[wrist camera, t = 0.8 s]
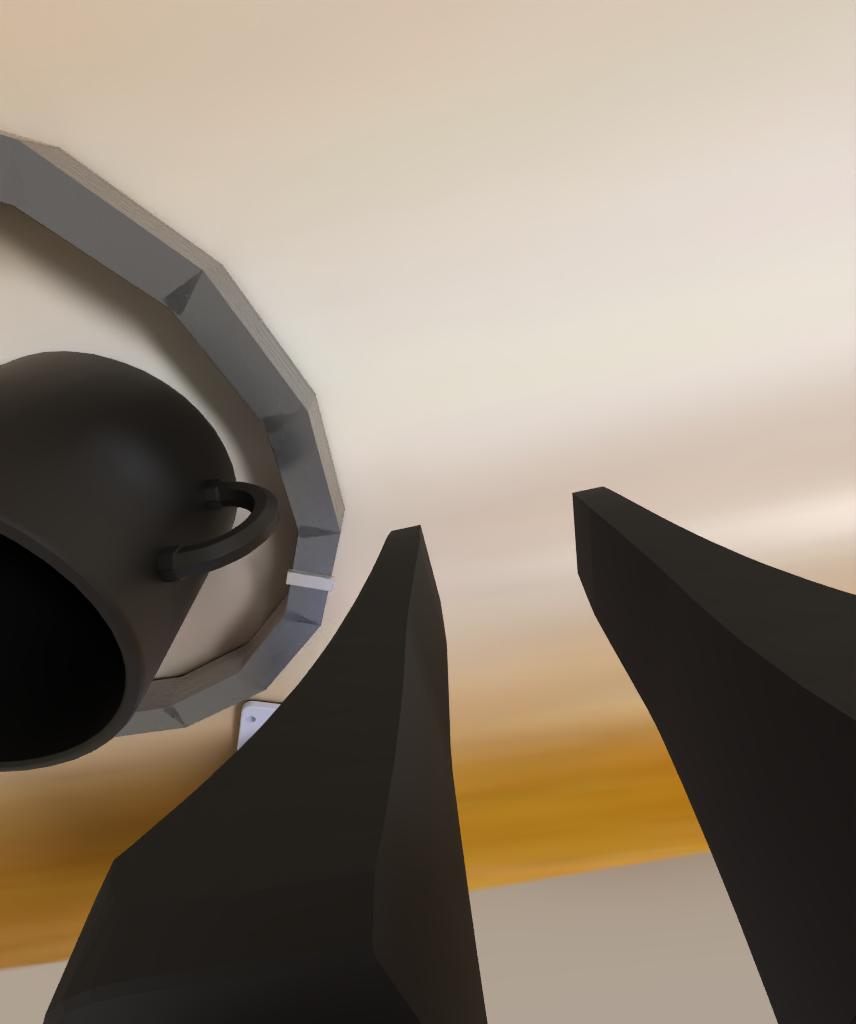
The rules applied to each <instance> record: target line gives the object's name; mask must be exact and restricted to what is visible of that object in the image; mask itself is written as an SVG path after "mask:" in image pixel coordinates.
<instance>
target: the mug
mask: <svg viewBox="0 0 856 1024" xmlns="http://www.w3.org/2000/svg"><path fill="white" fill-rule="evenodd" d="M237 507H241V508H245V509H247V510H249V511H250V512H251V514H250V515H249V517H248V518H247V519H246V520H245V521H244V522H242V523H241V524H240V525H238V526H237V527H236V528H234V529H232V526H233V523H234V520H235V516H236V511H237ZM278 518H279V512H278V501H277V499H276V497H275V496H274V495H273V494H272V493H271V492H270V491H269V490H267V489H265V488H262V487H259V486H257V485H254V484H250V483H245V482H236V478H235V474H234V470H233V466H232V463H231V460H230V458H229V456H228V453H227V451H226V449H225V447H224V445H223V443H222V441H221V439H220V438H219V436H218V435H217V433H216V431H215V430H214V428H213V427H212V426H211V424H210V423H209V422H208V421H207V420H206V418H205V417H204V416H203V415H202V414H201V413H200V411H199V410H198V409H197V408H196V407H194V406H193V405H192V404H191V403H190V402H189V401H188V400H187V399H186V398H185V397H184V396H182V395H181V394H180V393H178V392H177V391H176V390H174V389H173V388H172V387H170V386H169V385H167V384H166V383H164V382H163V381H161V380H159V379H157V378H156V377H154V376H152V375H150V374H148V373H147V372H145V371H143V370H140V369H138V368H135V367H133V366H130V365H128V364H125V363H122V362H119V361H116V360H113V359H110V358H106V357H102V356H98V355H94V354H87V353H79V352H66V351H62V352H43V353H38V354H33V355H28V356H25V357H21V358H19V359H16V360H13V361H11V362H8V363H5V364H3V365H0V772H6V771H22V770H31V769H37V768H43V767H48V766H53V765H57V764H61V763H64V762H67V761H71V760H74V759H77V758H79V757H81V756H83V755H86V754H88V753H90V752H92V751H94V750H96V749H98V748H99V747H101V746H102V745H104V744H105V743H107V742H108V741H110V740H111V739H112V738H114V737H115V736H116V735H117V734H118V733H119V732H120V731H121V730H122V729H123V728H124V727H125V726H126V725H127V723H128V722H129V721H130V720H131V718H132V717H133V715H134V713H135V712H136V710H137V708H138V707H139V705H140V703H141V702H142V700H143V698H144V696H145V694H146V692H147V690H148V688H149V686H150V684H151V682H152V680H153V679H154V677H155V675H156V673H157V671H158V669H159V667H160V665H161V663H162V661H163V659H164V657H165V656H166V654H167V652H168V650H169V648H170V646H171V644H172V642H173V640H174V638H175V636H176V634H177V633H178V631H179V629H180V627H181V625H182V623H183V621H184V619H185V617H186V615H187V613H188V611H189V610H190V608H191V606H192V604H193V602H194V600H195V598H196V596H197V594H198V592H199V590H200V588H201V587H202V585H203V583H204V581H205V579H206V577H207V575H208V573H209V571H213V570H216V569H218V568H221V567H223V566H225V565H228V564H230V563H232V562H234V561H236V560H238V559H240V558H242V557H244V556H246V555H247V554H249V553H250V552H252V551H253V550H254V549H256V548H257V547H258V546H260V545H261V544H262V543H263V542H264V541H265V540H266V539H267V538H268V537H269V536H270V535H271V533H272V532H273V530H274V529H275V527H276V526H277V523H278ZM231 529H232V530H231Z"/></svg>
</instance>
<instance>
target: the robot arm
mask: <svg viewBox="0 0 856 1024" xmlns="http://www.w3.org/2000/svg"><path fill="white" fill-rule="evenodd" d="M572 494H573V509H574V524H575V539H576V554H577V569H578V575H579V577H580V580H581V582H582V585H583V587H584V590H585V593H586V595H587V598H588V600H589V602H590V605H591V607H592V610H593V612H594V614H595V616H596V618H597V620H598V622H599V624H600V625H601V627H602V629H603V631H604V633H605V634H606V636H607V638H608V640H609V642H610V643H611V645H612V647H613V649H614V650H615V652H616V654H617V656H618V658H619V659H620V661H621V663H622V665H623V666H624V668H625V670H626V672H627V673H628V675H629V677H630V679H631V680H632V682H633V684H634V686H635V688H636V689H637V691H638V693H639V695H640V696H641V698H642V700H643V702H644V703H645V705H646V707H647V709H648V711H649V713H650V715H651V717H652V718H653V720H654V722H655V724H656V726H657V728H658V730H659V732H660V734H661V737H662V739H663V741H664V743H665V746H666V748H667V750H668V752H669V755H670V757H671V759H672V761H673V764H674V766H675V768H676V770H677V773H678V775H679V777H680V780H681V782H682V784H683V786H684V789H685V791H686V793H687V796H688V798H689V800H690V803H691V805H692V808H693V810H694V812H695V815H696V817H697V819H698V822H699V824H700V826H701V829H702V831H703V834H704V836H705V838H706V841H707V843H708V845H709V848H710V850H711V853H712V855H713V858H714V860H715V863H716V865H717V867H718V870H719V873H720V875H721V878H722V880H723V882H724V885H725V887H726V890H727V892H728V895H729V897H730V900H731V902H732V905H733V907H734V910H735V912H736V914H737V917H738V919H739V922H740V925H741V927H742V930H743V933H744V935H745V938H746V940H747V943H748V946H749V948H750V951H751V953H752V956H753V959H754V961H755V964H756V966H757V969H758V972H759V974H760V977H761V980H762V982H763V985H764V987H765V990H766V992H767V995H768V997H769V1000H770V1003H771V1006H772V1008H773V1011H774V1014H775V1016H776V1019H777V1022H778V1024H856V595H854V594H850V593H847V592H844V591H840V590H837V589H834V588H831V587H828V586H825V585H822V584H819V583H816V582H813V581H810V580H807V579H804V578H801V577H799V576H796V575H793V574H790V573H787V572H785V571H782V570H779V569H776V568H774V567H771V566H768V565H765V564H763V563H760V562H758V561H755V560H753V559H750V558H748V557H745V556H743V555H741V554H738V553H736V552H734V551H732V550H729V549H727V548H725V547H723V546H720V545H718V544H716V543H713V542H711V541H709V540H707V539H705V538H703V537H700V536H698V535H696V534H694V533H692V532H690V531H688V530H686V529H684V528H682V527H680V526H678V525H676V524H674V523H672V522H670V521H668V520H666V519H664V518H662V517H660V516H658V515H656V514H655V513H653V512H651V511H649V510H647V509H645V508H643V507H642V506H640V505H638V504H636V503H634V502H632V501H630V500H629V499H627V498H625V497H623V496H621V495H619V494H617V493H615V492H613V491H611V490H609V489H607V488H605V487H598V488H594V489H589V490H584V491H579V492H575V493H572ZM43 1024H487V1017H486V1011H485V1004H484V997H483V991H482V984H481V977H480V970H479V963H478V956H477V950H476V942H475V935H474V929H473V921H472V914H471V907H470V900H469V893H468V886H467V878H466V871H465V863H464V856H463V848H462V841H461V834H460V826H459V818H458V811H457V803H456V795H455V787H454V779H453V771H452V759H451V746H450V718H449V690H448V663H447V642H446V635H445V628H444V622H443V615H442V609H441V602H440V598H439V594H438V590H437V586H436V582H435V579H434V575H433V571H432V567H431V563H430V560H429V556H428V552H427V548H426V544H425V541H424V537H423V533H422V529H421V525H418V526H413V527H408V528H404V529H399V530H394V531H391V532H390V534H389V535H388V537H387V539H386V541H385V543H384V546H383V548H382V550H381V552H380V554H379V556H378V559H377V561H376V563H375V565H374V567H373V569H372V571H371V573H370V575H369V577H368V579H367V580H366V582H365V584H364V586H363V588H362V590H361V592H360V594H359V595H358V597H357V599H356V601H355V603H354V604H353V606H352V608H351V609H350V611H349V612H348V614H347V616H346V617H345V619H344V621H343V622H342V624H341V625H340V627H339V629H338V630H337V632H336V633H335V635H334V636H333V638H332V639H331V641H330V642H329V644H328V645H327V647H326V648H325V650H324V651H323V652H322V654H321V655H320V657H319V658H318V659H317V661H316V662H315V663H314V665H313V666H312V667H311V669H310V670H309V671H308V673H307V674H306V675H305V677H304V678H303V679H302V680H301V682H300V683H299V684H298V685H297V686H296V688H295V689H294V690H293V691H292V692H291V693H290V694H289V696H288V697H287V698H286V699H285V700H284V701H283V702H282V703H281V704H275V703H267V702H259V701H248V702H246V703H245V704H244V705H243V708H242V711H241V720H240V728H239V737H238V745H237V752H236V753H235V754H234V755H233V756H232V757H230V758H229V759H228V760H227V761H226V762H225V763H224V764H223V765H222V766H221V767H220V768H219V769H218V770H217V771H216V772H215V773H214V774H213V775H212V776H211V777H210V778H209V779H207V780H206V781H205V782H204V783H203V784H202V785H201V786H200V787H199V788H198V789H197V790H195V791H194V792H193V793H192V794H191V795H190V796H189V797H188V798H187V799H185V800H184V801H183V802H182V803H181V804H180V805H178V806H177V807H176V808H175V809H174V810H173V811H171V812H170V813H169V814H168V815H167V816H166V817H164V818H163V819H162V820H161V821H160V822H159V823H157V824H156V825H155V826H154V827H153V828H152V829H150V830H149V831H148V832H147V833H146V834H145V835H143V836H142V837H141V838H140V839H139V840H138V841H136V842H135V843H134V844H133V845H132V846H131V847H129V848H128V849H127V850H126V851H124V852H123V853H122V854H121V855H120V856H118V857H117V858H116V859H115V860H114V861H113V863H112V865H111V868H110V870H109V872H108V874H107V876H106V878H105V880H104V882H103V884H102V887H101V889H100V891H99V893H98V895H97V897H96V899H95V902H94V904H93V906H92V908H91V911H90V913H89V915H88V918H87V920H86V922H85V925H84V927H83V929H82V931H81V934H80V936H79V938H78V941H77V943H76V945H75V948H74V950H73V952H72V955H71V957H70V959H69V961H68V964H67V966H66V968H65V971H64V973H63V975H62V978H61V980H60V983H59V984H58V987H57V989H56V991H55V994H54V996H53V999H52V1001H51V1003H50V1005H49V1008H48V1010H47V1012H46V1015H45V1019H44V1022H43Z"/></svg>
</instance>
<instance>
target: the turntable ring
mask: <svg viewBox="0 0 856 1024" xmlns="http://www.w3.org/2000/svg"><path fill="white" fill-rule="evenodd" d="M0 202H3V203H7V204H10V205H13V206H15V207H16V208H18V209H19V210H21V211H22V212H24V213H25V214H27V215H29V216H30V217H32V218H33V219H35V220H36V221H38V222H39V223H41V224H42V225H44V226H45V227H47V228H48V229H50V230H51V231H53V232H54V233H56V234H57V235H59V236H60V237H62V238H63V239H65V240H66V241H68V242H69V243H71V244H72V245H74V246H75V247H77V248H79V249H80V250H82V251H83V252H85V253H86V254H88V255H89V256H91V257H92V258H94V259H95V260H97V261H98V262H100V263H101V264H103V265H104V266H106V267H107V268H109V269H110V270H112V271H113V272H115V273H116V274H118V275H119V276H121V277H122V278H124V279H125V280H127V281H129V282H130V283H132V284H133V285H135V286H136V287H138V288H139V289H141V290H142V291H144V292H145V293H147V294H148V295H150V296H151V297H153V298H154V299H156V300H157V301H159V302H160V303H162V304H163V305H165V306H166V307H168V308H169V309H171V311H172V312H173V313H174V314H175V315H176V317H177V318H178V319H179V320H180V322H181V323H182V324H183V325H184V327H185V328H186V329H187V330H188V332H189V333H190V334H191V335H192V337H193V338H194V339H195V340H196V342H197V343H198V344H199V345H200V346H201V348H202V349H203V350H204V351H205V353H206V354H207V355H208V356H209V358H210V359H211V360H212V361H213V363H214V364H215V365H216V366H217V368H218V369H219V370H220V371H221V372H222V374H223V375H224V376H225V377H226V379H227V380H228V381H229V382H230V384H231V385H232V386H233V387H234V389H235V390H236V391H237V392H238V394H239V395H240V396H241V397H242V399H243V400H244V401H245V402H246V403H247V405H248V406H249V407H250V408H251V410H252V411H253V412H254V413H255V415H256V416H257V417H258V418H259V420H260V421H261V422H262V423H263V425H264V426H265V428H266V431H267V434H268V437H269V440H270V443H271V447H272V450H273V453H274V456H275V459H276V462H277V465H278V468H279V472H280V475H281V478H282V481H283V484H284V487H285V490H286V493H287V496H288V500H289V503H290V506H291V509H292V512H293V515H294V518H295V521H296V525H297V528H298V531H299V534H298V540H297V546H296V552H295V558H294V565H293V569H289V570H288V574H287V580H286V584H290V589H289V592H288V594H287V595H286V596H285V598H284V599H283V600H282V601H281V603H280V604H279V605H278V606H277V608H276V609H275V610H274V612H273V613H272V614H271V615H270V617H269V618H268V619H267V620H266V622H265V623H264V624H263V625H262V627H261V628H260V629H259V631H258V632H257V633H256V634H255V636H254V637H253V638H252V639H251V641H250V642H249V643H248V644H246V645H244V646H242V647H240V648H238V649H236V650H234V651H232V652H230V653H228V654H226V655H224V656H222V657H220V658H218V659H216V660H214V661H212V662H210V663H208V664H206V665H204V666H202V667H200V668H198V669H196V670H194V671H192V672H190V673H188V674H186V675H184V676H182V677H176V678H169V679H162V680H155V681H152V682H151V684H150V686H149V688H148V690H147V692H146V694H145V696H144V698H143V700H142V702H141V703H140V705H139V707H138V708H137V710H136V712H135V713H134V715H133V717H132V718H131V720H130V721H129V722H128V723H127V725H126V726H125V727H124V728H123V729H122V730H121V731H120V732H119V733H118V734H117V735H116V736H115V737H118V736H125V735H132V734H140V733H147V732H154V731H162V730H169V729H177V728H184V727H188V726H190V725H192V724H194V723H196V722H198V721H200V720H203V719H205V718H207V717H209V716H211V715H213V714H215V713H217V712H219V711H221V710H224V709H226V708H228V707H230V706H232V705H234V704H236V703H238V702H240V701H242V700H245V699H247V698H249V697H251V696H253V695H255V694H257V693H259V692H261V691H263V690H266V689H267V687H268V686H269V685H270V684H271V683H272V682H273V680H274V679H275V678H276V677H277V676H278V675H279V673H280V672H281V671H282V670H283V669H284V668H285V666H286V665H287V664H288V663H289V662H290V661H291V660H292V658H293V657H294V656H295V655H296V654H297V653H298V651H299V650H300V649H301V648H302V647H303V646H304V644H305V643H306V642H307V641H308V640H309V639H310V637H311V636H312V635H313V634H314V633H315V632H316V630H317V629H318V628H319V627H320V626H321V622H322V617H323V613H324V608H325V603H326V598H327V594H328V591H332V589H333V585H334V580H335V577H334V576H331V575H332V570H333V565H334V561H335V556H336V551H337V547H338V542H339V537H340V533H341V527H342V521H343V516H344V510H345V508H344V504H343V500H342V496H341V492H340V488H339V484H338V481H337V477H336V473H335V469H334V465H333V461H332V457H331V453H330V449H329V445H328V441H327V437H326V433H325V429H324V426H323V422H322V418H321V414H320V410H319V406H318V402H317V398H316V394H315V393H314V391H313V390H312V389H311V387H310V386H309V384H308V383H307V382H306V380H305V379H304V378H303V376H302V375H301V373H300V372H299V371H298V369H297V368H296V366H295V365H294V364H293V362H292V361H291V359H290V358H289V357H288V355H287V354H286V353H285V351H284V350H283V348H282V347H281V346H280V344H279V343H278V341H277V340H276V339H275V337H274V336H273V334H272V333H271V332H270V330H269V329H268V328H267V326H266V325H265V323H264V322H263V321H262V319H261V318H260V316H259V315H258V314H257V312H256V311H255V310H254V308H253V307H252V305H251V304H250V303H249V301H248V300H247V298H246V297H245V296H244V294H243V293H242V291H241V290H240V289H239V287H238V286H237V285H236V283H235V282H234V280H233V279H232V278H231V276H230V275H229V273H228V272H227V271H226V269H225V268H224V266H223V265H222V264H221V263H219V262H218V261H216V260H215V259H214V258H212V257H211V256H209V255H208V254H207V253H205V252H204V251H202V250H201V249H200V248H198V247H197V246H195V245H194V244H193V243H191V242H190V241H189V240H187V239H186V238H184V237H183V236H182V235H180V234H179V233H177V232H176V231H175V230H173V229H172V228H170V227H169V226H168V225H166V224H165V223H164V222H162V221H161V220H159V219H158V218H157V217H155V216H154V215H152V214H151V213H150V212H148V211H147V210H145V209H144V208H143V207H141V206H140V205H139V204H137V203H136V202H134V201H133V200H132V199H130V198H129V197H127V196H126V195H125V194H123V193H122V192H120V191H119V190H118V189H116V188H115V187H114V186H112V185H111V184H109V183H108V182H107V181H105V180H104V179H102V178H101V177H100V176H98V175H97V174H95V173H94V172H93V171H91V170H90V169H89V168H87V167H86V166H84V165H83V164H82V163H80V162H79V161H77V160H76V159H75V158H73V157H72V156H70V155H69V154H68V153H66V152H65V151H64V150H62V149H61V148H59V147H55V146H51V145H48V144H45V143H41V142H38V141H35V140H31V139H28V138H25V137H21V136H18V135H15V134H11V133H8V132H4V131H1V130H0Z"/></svg>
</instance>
